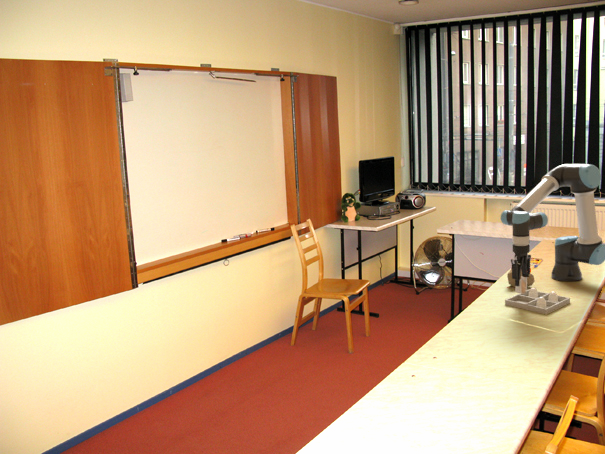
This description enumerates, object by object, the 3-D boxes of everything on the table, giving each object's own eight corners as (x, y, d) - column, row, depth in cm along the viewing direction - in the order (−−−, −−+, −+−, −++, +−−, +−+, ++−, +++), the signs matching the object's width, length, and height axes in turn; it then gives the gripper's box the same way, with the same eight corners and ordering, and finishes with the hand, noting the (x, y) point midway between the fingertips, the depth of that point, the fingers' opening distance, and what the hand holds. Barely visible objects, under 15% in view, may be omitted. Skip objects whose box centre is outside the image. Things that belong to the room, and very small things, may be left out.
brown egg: (519, 289, 257) (519, 278, 256) (527, 291, 254) (527, 280, 253) (514, 292, 255) (514, 280, 254) (522, 293, 251) (522, 282, 250)
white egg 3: (551, 301, 256) (551, 289, 255) (559, 302, 252) (559, 291, 251) (546, 303, 253) (546, 292, 252) (554, 305, 250) (554, 293, 249)
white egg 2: (539, 306, 250) (539, 295, 249) (548, 308, 247) (548, 296, 245) (534, 308, 248) (534, 297, 246) (543, 310, 244) (543, 299, 243)
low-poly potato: (500, 286, 286) (507, 282, 275) (503, 267, 289) (510, 263, 278) (528, 293, 284) (536, 289, 273) (531, 274, 287) (539, 269, 276)
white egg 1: (531, 296, 264) (531, 285, 263) (539, 298, 260) (539, 287, 259) (526, 298, 262) (526, 287, 260) (534, 300, 258) (534, 289, 257)
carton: (529, 295, 268) (529, 289, 268) (570, 303, 252) (570, 297, 251) (505, 305, 257) (505, 299, 256) (546, 315, 240) (546, 309, 239)
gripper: (523, 239, 258) (524, 285, 262) (503, 246, 248) (503, 293, 252) (538, 241, 252) (538, 288, 256) (517, 248, 242) (518, 297, 246)
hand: (521, 290), depth 254 cm, fingers closed on brown egg, 4 cm apart
